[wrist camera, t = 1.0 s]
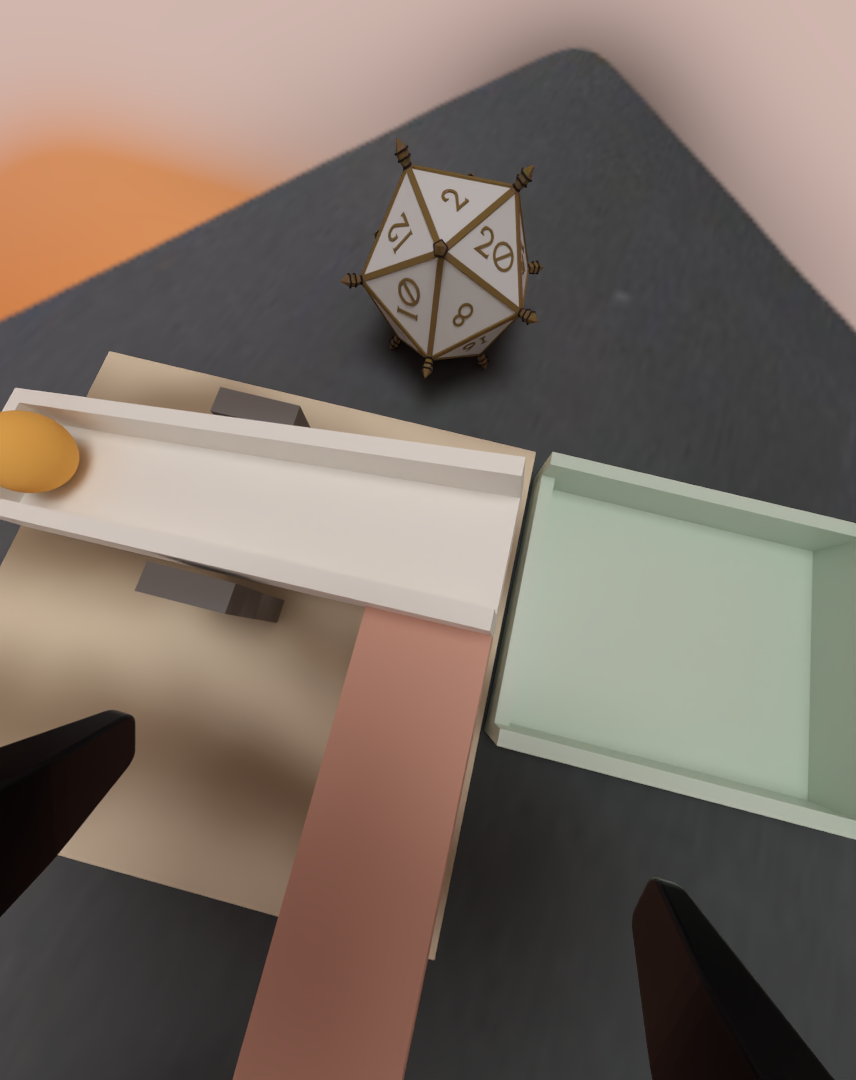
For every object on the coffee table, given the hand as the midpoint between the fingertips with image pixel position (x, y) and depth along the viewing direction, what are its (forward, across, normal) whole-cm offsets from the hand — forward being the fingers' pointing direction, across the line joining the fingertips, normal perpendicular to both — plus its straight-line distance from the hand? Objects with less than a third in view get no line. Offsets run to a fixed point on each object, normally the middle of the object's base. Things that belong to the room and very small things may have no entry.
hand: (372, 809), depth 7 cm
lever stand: (+11, +8, +4) cm, 14 cm away
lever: (+6, +8, +4) cm, 11 cm away
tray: (+14, -10, +1) cm, 17 cm away
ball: (+8, +16, -2) cm, 18 cm away
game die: (+20, +4, -10) cm, 23 cm away
